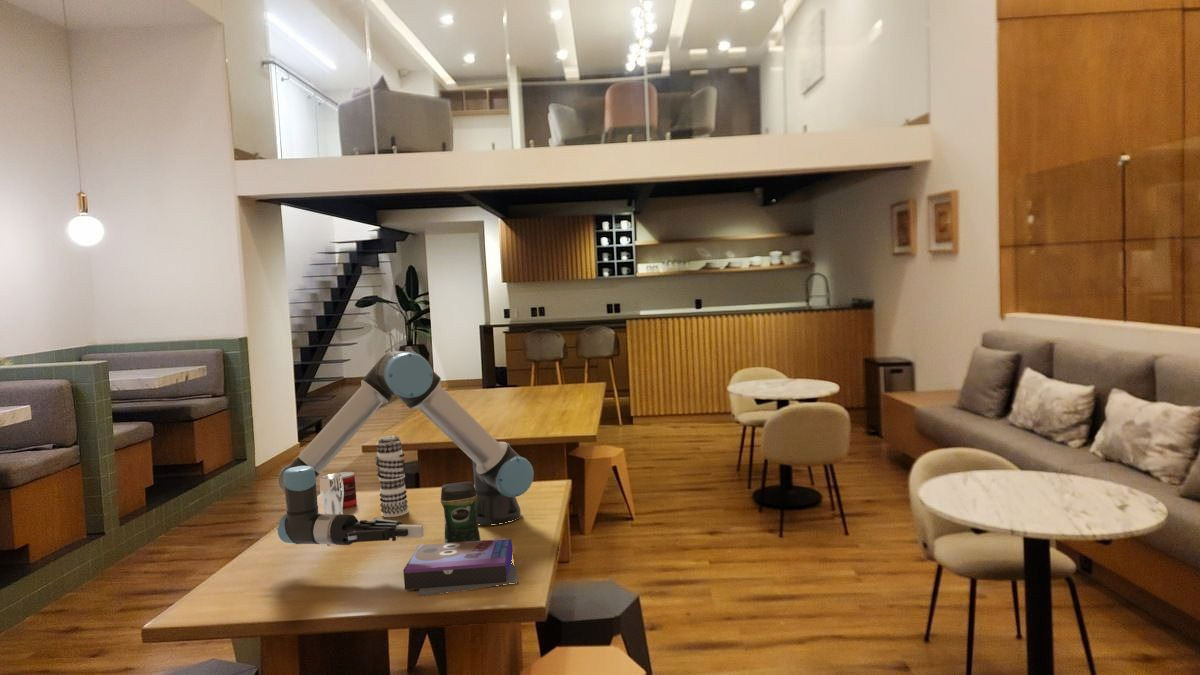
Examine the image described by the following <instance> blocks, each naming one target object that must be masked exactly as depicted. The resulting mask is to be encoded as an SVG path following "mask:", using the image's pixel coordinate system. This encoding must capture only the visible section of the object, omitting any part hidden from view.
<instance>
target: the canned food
mask: <svg viewBox="0 0 1200 675" xmlns="http://www.w3.org/2000/svg"><path fill="white" fill-rule="evenodd" d="M335 474H341V475H342V480H343V487H344V498H343V510H346V509H345V508H347V509H351V508H354V507H356V506H357V502H358V501H357V489H356V477H355V472H352V471H343V472H336V473H335ZM353 506H354V507H353ZM350 507H351V508H350Z"/></svg>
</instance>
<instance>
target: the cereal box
mask: <svg viewBox="0 0 1200 675" xmlns="http://www.w3.org/2000/svg"><path fill="white" fill-rule="evenodd" d="M512 552H513V553H514V550H513V543H512V538H498V539H497V538H495V539H485V540H483V539H482V540H481V539H480V541H467V542H454V543H445V542H442V543H429V544H419V545H417V547H416V549H415V551H414V552H413V553H412V556H411V557H410V558H409V560H408V562H407V564H406V565H405V567H404V568H403V581H404V590H406V591H407V590H409V591H410V590H419V589H421V588H435V587H448V586H461V585H474V584H488V583H501V582H506V581H507V577H508V572H509V568H510V564H511V560H512Z"/></svg>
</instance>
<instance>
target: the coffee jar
mask: <svg viewBox="0 0 1200 675" xmlns="http://www.w3.org/2000/svg"><path fill="white" fill-rule="evenodd" d="M440 492H441V494H440V503H441V506H442V507H443V513H444V543H454V542H467V541H481V537H480V536H481V535H480V531H479V525H477V519H476V512H475V502H476V498H477V496H476V491H475V485H474V481H471V480H470V481H469V480H468V481H460V482H454V483H452V482H451V483H446V484H445V483H444V484H443V485H442V486H441V491H440Z"/></svg>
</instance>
